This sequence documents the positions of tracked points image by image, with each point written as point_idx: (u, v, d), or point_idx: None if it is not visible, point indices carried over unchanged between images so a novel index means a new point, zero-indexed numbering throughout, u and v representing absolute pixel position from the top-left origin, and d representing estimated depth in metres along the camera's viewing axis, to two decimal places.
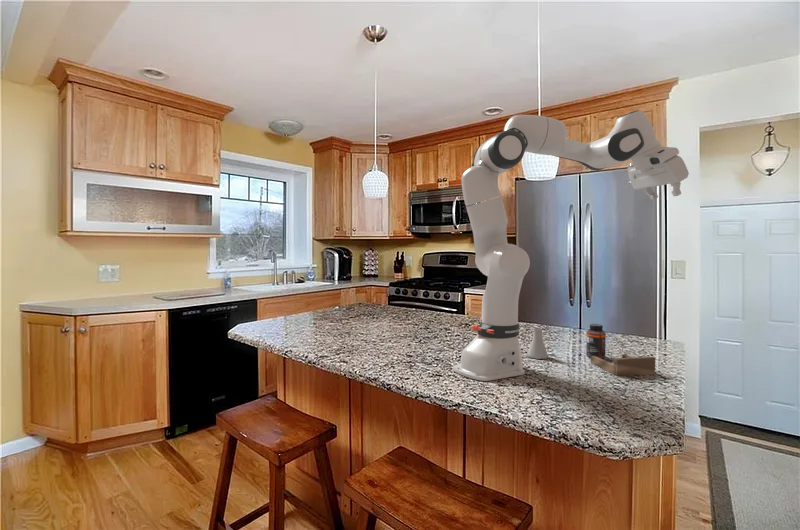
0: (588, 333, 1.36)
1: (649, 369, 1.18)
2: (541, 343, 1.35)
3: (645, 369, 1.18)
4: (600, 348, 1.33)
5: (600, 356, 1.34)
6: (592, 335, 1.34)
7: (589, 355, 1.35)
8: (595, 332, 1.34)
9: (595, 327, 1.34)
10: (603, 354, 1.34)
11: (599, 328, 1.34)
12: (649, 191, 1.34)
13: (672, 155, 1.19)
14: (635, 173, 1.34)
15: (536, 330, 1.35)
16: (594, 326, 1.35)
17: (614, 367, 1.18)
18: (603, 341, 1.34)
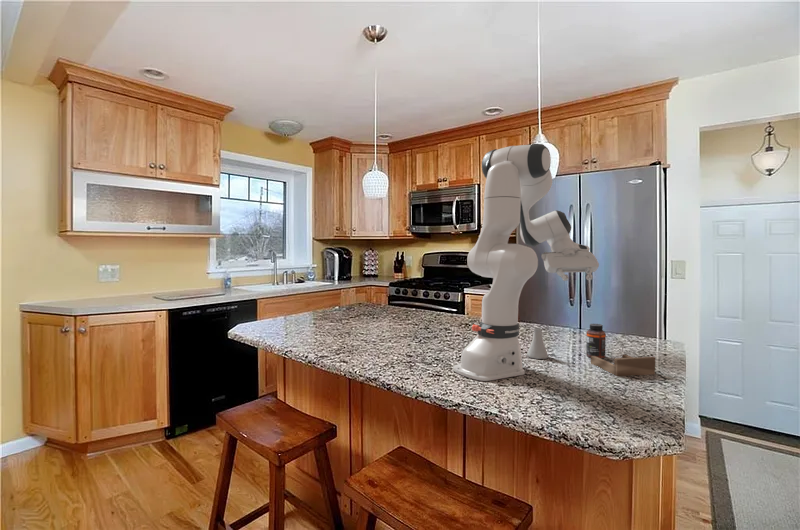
0: (588, 333, 1.36)
1: (649, 369, 1.18)
2: (541, 343, 1.35)
3: (645, 369, 1.18)
4: (600, 348, 1.33)
5: (600, 356, 1.34)
6: (592, 335, 1.34)
7: (589, 355, 1.35)
8: (595, 332, 1.34)
9: (595, 327, 1.34)
10: (603, 354, 1.34)
11: (599, 328, 1.34)
12: None
13: None
14: (555, 255, 1.52)
15: (536, 330, 1.35)
16: (594, 326, 1.35)
17: (614, 367, 1.18)
18: (603, 341, 1.34)
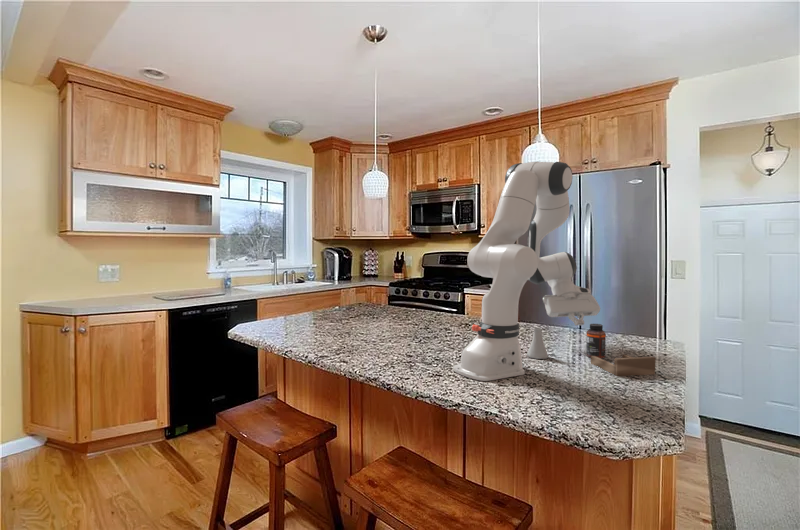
0: (588, 333, 1.36)
1: (649, 369, 1.18)
2: (541, 343, 1.35)
3: (645, 369, 1.18)
4: (600, 348, 1.33)
5: (600, 356, 1.34)
6: (592, 335, 1.34)
7: (589, 355, 1.35)
8: (595, 332, 1.34)
9: (595, 327, 1.34)
10: (603, 354, 1.34)
11: (599, 328, 1.34)
12: None
13: None
14: (557, 299, 1.51)
15: (536, 330, 1.35)
16: (594, 326, 1.35)
17: (614, 367, 1.18)
18: (603, 341, 1.34)
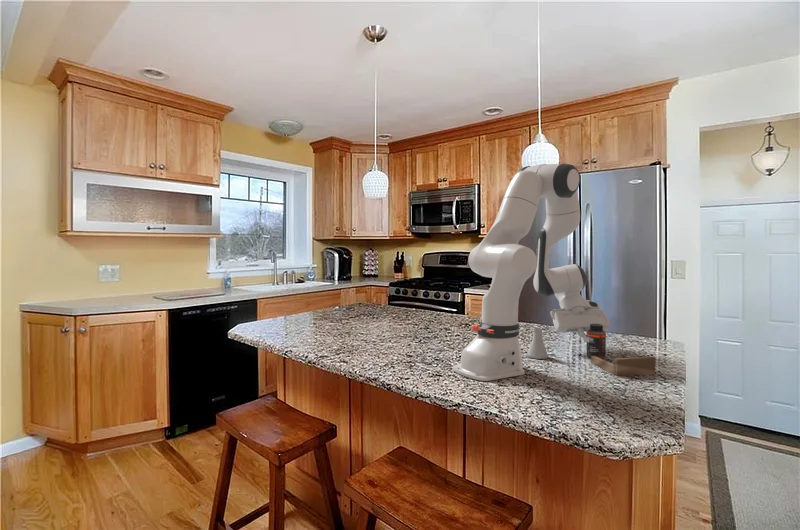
0: (588, 333, 1.36)
1: (649, 369, 1.18)
2: (541, 343, 1.35)
3: (645, 369, 1.18)
4: (600, 348, 1.33)
5: (600, 356, 1.33)
6: (592, 335, 1.34)
7: (589, 355, 1.35)
8: (595, 331, 1.34)
9: (595, 327, 1.34)
10: (603, 354, 1.34)
11: (599, 328, 1.34)
12: None
13: None
14: (565, 313, 1.45)
15: (536, 330, 1.35)
16: (594, 326, 1.34)
17: (614, 367, 1.18)
18: (603, 341, 1.34)
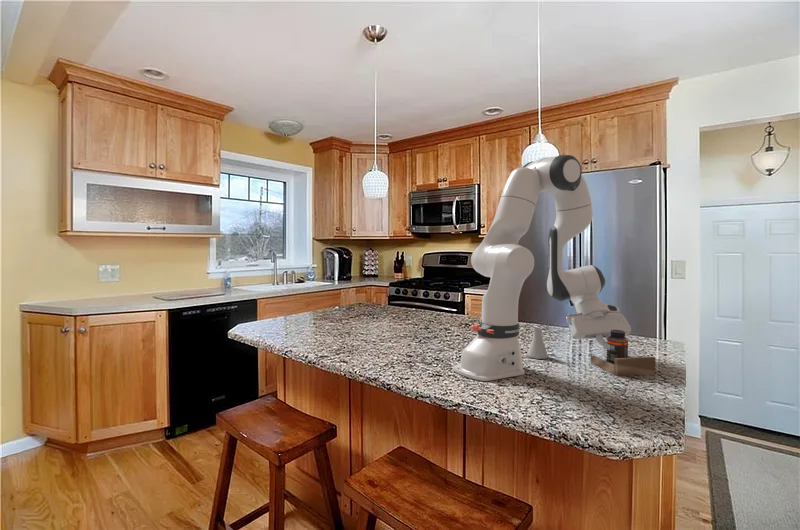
0: (609, 340, 1.25)
1: (649, 369, 1.18)
2: (541, 343, 1.35)
3: (645, 369, 1.18)
4: (622, 357, 1.23)
5: None
6: (613, 342, 1.24)
7: None
8: (617, 339, 1.24)
9: (617, 334, 1.24)
10: None
11: (621, 335, 1.24)
12: None
13: None
14: (582, 318, 1.34)
15: (536, 330, 1.35)
16: (616, 333, 1.24)
17: (614, 367, 1.18)
18: (625, 349, 1.23)
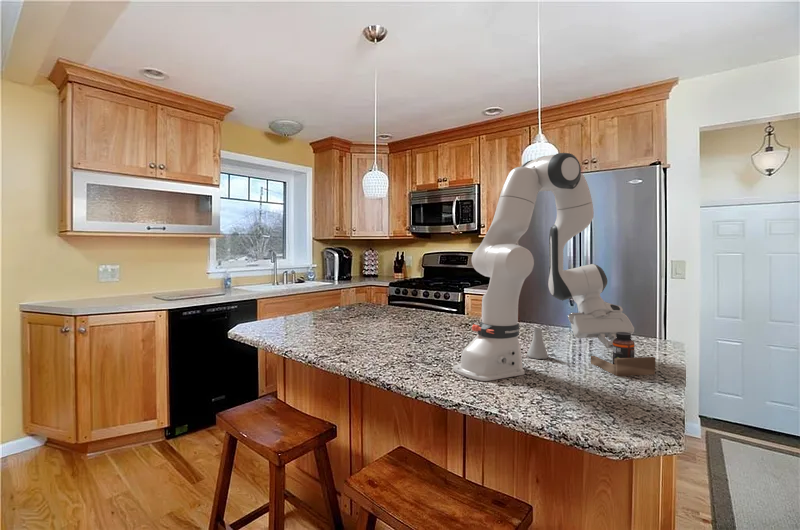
0: (615, 342, 1.23)
1: (649, 369, 1.18)
2: (541, 343, 1.35)
3: (645, 369, 1.18)
4: None
5: None
6: (619, 345, 1.21)
7: None
8: (623, 341, 1.21)
9: (623, 336, 1.21)
10: None
11: (627, 337, 1.21)
12: None
13: None
14: (585, 317, 1.33)
15: (536, 330, 1.35)
16: (622, 335, 1.22)
17: (614, 367, 1.18)
18: (632, 351, 1.21)
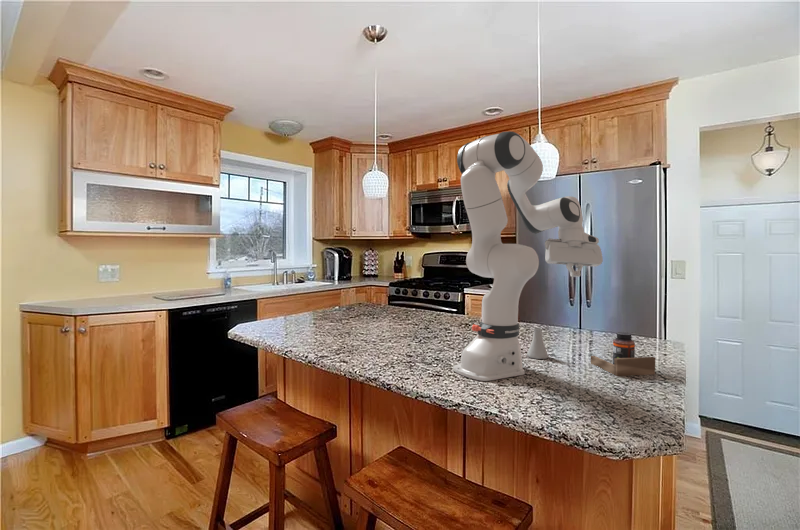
0: (615, 342, 1.23)
1: (649, 369, 1.18)
2: (541, 343, 1.35)
3: (645, 369, 1.18)
4: None
5: None
6: (620, 345, 1.21)
7: None
8: (623, 341, 1.21)
9: (623, 336, 1.21)
10: None
11: (628, 337, 1.21)
12: None
13: None
14: (560, 245, 1.42)
15: (536, 330, 1.35)
16: (622, 335, 1.22)
17: (614, 367, 1.18)
18: (632, 352, 1.21)
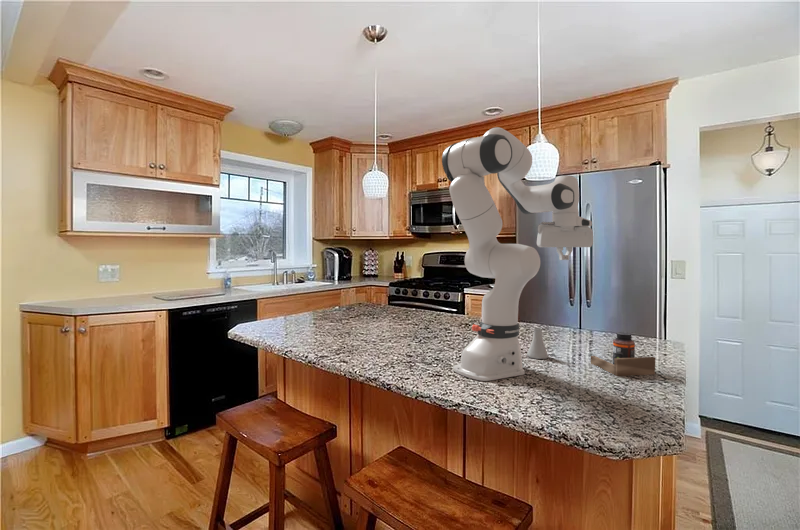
0: (615, 342, 1.23)
1: (649, 369, 1.18)
2: (541, 343, 1.35)
3: (645, 369, 1.18)
4: None
5: None
6: (620, 345, 1.21)
7: None
8: (623, 341, 1.21)
9: (623, 336, 1.21)
10: None
11: (628, 337, 1.21)
12: None
13: None
14: (552, 230, 1.41)
15: (536, 330, 1.35)
16: (622, 335, 1.22)
17: (614, 367, 1.18)
18: (632, 352, 1.21)
